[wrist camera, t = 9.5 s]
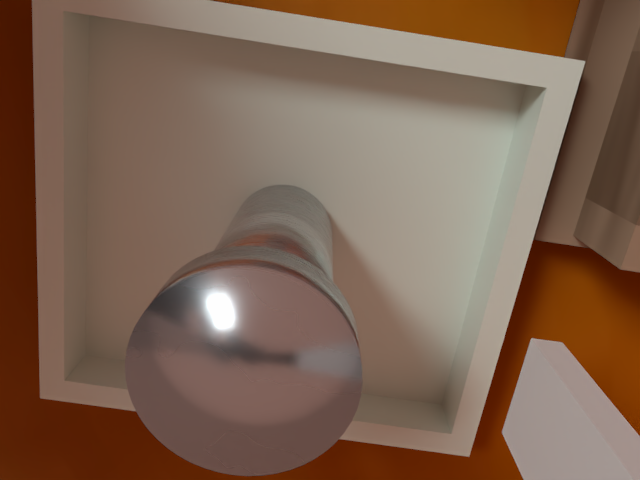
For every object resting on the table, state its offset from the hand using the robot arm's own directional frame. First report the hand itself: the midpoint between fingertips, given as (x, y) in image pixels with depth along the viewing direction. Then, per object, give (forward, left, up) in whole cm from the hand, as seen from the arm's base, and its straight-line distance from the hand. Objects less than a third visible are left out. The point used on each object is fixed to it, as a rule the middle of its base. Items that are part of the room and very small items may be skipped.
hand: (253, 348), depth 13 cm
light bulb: (0, 0, -9) cm, 9 cm away
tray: (0, 0, -10) cm, 10 cm away
